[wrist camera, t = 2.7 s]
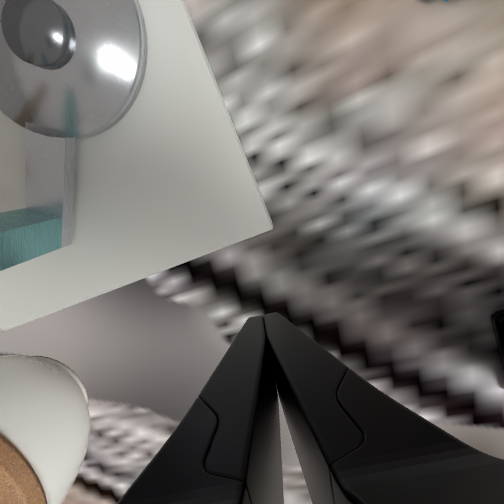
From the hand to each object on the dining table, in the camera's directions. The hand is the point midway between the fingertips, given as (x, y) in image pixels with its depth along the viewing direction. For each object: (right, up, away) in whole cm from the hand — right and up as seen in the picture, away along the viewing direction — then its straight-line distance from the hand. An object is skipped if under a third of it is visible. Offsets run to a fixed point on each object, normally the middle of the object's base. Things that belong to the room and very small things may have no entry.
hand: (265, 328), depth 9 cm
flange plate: (-12, +11, +9) cm, 18 cm away
